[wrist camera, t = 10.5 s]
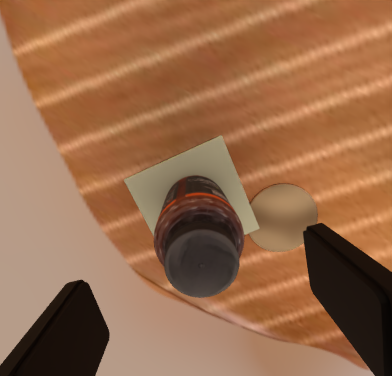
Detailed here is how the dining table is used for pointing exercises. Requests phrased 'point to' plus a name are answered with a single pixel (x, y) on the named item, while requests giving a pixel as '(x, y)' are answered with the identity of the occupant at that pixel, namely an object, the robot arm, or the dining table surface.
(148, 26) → the dining table surface
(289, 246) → the tan round plate
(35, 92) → the dining table surface
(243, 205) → the grey-green block
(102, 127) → the dining table surface
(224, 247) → the supplement bottle
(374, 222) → the dining table surface
